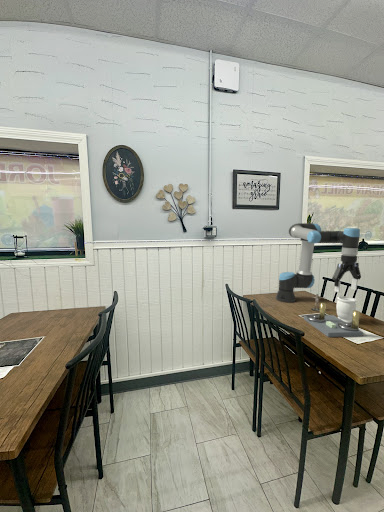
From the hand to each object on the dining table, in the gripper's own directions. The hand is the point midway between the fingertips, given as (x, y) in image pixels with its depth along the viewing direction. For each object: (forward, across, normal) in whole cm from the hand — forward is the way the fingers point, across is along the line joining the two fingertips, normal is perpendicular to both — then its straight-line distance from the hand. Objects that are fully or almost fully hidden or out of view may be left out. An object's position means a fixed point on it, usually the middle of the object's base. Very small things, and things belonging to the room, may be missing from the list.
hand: (345, 290), depth 128 cm
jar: (+24, +14, +8) cm, 29 cm away
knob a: (+21, -8, +11) cm, 25 cm away
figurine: (+25, +12, +28) cm, 39 cm away
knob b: (+21, 0, -4) cm, 21 cm away
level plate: (+24, -4, +4) cm, 25 cm away
